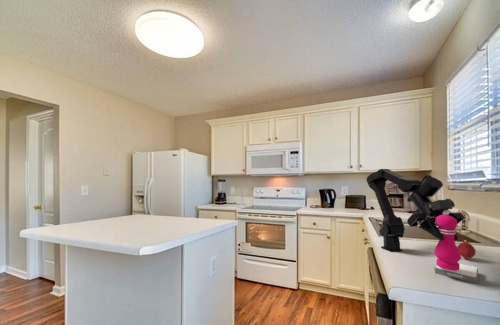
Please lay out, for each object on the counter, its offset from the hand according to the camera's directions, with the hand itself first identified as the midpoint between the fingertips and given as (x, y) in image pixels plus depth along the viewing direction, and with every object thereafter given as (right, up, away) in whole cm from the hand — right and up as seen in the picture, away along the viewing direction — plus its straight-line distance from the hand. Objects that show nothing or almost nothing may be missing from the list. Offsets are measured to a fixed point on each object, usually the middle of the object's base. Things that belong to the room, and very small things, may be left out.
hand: (449, 240), depth 81 cm
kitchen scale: (+6, -13, +4) cm, 15 cm away
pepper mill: (0, -10, +1) cm, 10 cm away
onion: (+23, -14, +18) cm, 32 cm away
